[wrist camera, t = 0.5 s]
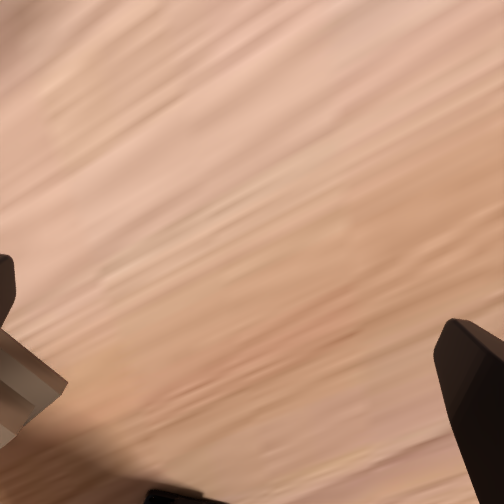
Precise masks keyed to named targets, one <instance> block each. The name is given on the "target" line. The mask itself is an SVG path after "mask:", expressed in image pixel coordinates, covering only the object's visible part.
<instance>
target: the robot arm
mask: <svg viewBox="0 0 504 504" xmlns="http://www.w3.org/2000/svg"><path fill="white" fill-rule="evenodd" d="M15 297H16V283H15V271H14V262H13V259H12V258H11V257H10V256H9V255H5V254H0V329H1V327H2V325H3V323H4V321H5V319H6V317H7V315H8V313H9V311H10V309H11V307H12V305H13V303H14V301H15ZM433 357H434V363H435V367H436V371H437V375H438V379H439V383H440V387H441V391H442V395H443V399H444V403H445V407H446V411H447V414H448V418H449V421H450V424H451V427H452V430H453V433H454V436H455V439H456V441H457V444H458V447H459V450H460V452H461V455H462V458H463V460H464V463H465V466H466V469H467V471H468V474H469V477H470V479H471V482H472V485H473V488H474V490H475V493H476V496H477V498H478V501H479V504H504V341H502V340H501V339H499V338H497V337H496V336H494V335H492V334H491V333H489V332H487V331H486V330H484V329H483V328H481V327H479V326H478V325H476V324H474V323H473V322H471V321H468V320H462V319H455V318H452V319H450V320H448V321H447V322H446V324H445V326H444V328H443V330H442V332H441V335H440V337H439V339H438V341H437V344H436V346H435V348H434V354H433ZM153 497H154V498H153ZM143 504H215V503H211V502H206V501H202V500H198V499H193V498H189V497H185V496H180V495H176V494H172V493H167V492H163V491H159V490H150V491H148V492H147V494H146V497H145V500H144V502H143Z"/></svg>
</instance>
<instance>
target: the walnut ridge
mask: <svg viewBox="0 0 504 504" xmlns="http://www.w3.org/2000/svg"><path fill="white" fill-rule="evenodd" d="M67 384H68V382H67V381H66V380H64V379H63V378H62V377H61V376H59V375H58V374H57V373H56V372H54V371H53V370H52V369H51V368H49V367H48V366H47V365H46V364H44V363H43V362H42V361H41V360H39V359H38V358H37V357H36V356H34V355H33V354H32V353H31V352H29V351H28V350H27V349H26V348H24V347H23V346H22V345H21V344H19V343H18V342H17V341H16V340H14V339H13V338H12V337H11V336H9V335H8V334H7V333H6V332H4V331H3V330H2V329H0V449H1V448H2V447H4V446H5V445H6V444H7V443H9V442H10V441H11V440H12V439H13V438H15V437H16V436H17V434H18V433H19V431H20V430H21V428H22V427H24V426H25V425H26V424H27V423H28V422H30V421H31V420H32V419H33V418H34V417H36V416H37V415H38V414H39V413H40V412H42V411H43V410H44V409H45V408H46V407H48V406H49V405H50V404H51V403H52V402H54V401H55V400H56V399H57V398H58V397H60V396H61V395H62V393H63V391H64V389H65V388H66V386H67Z"/></svg>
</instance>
